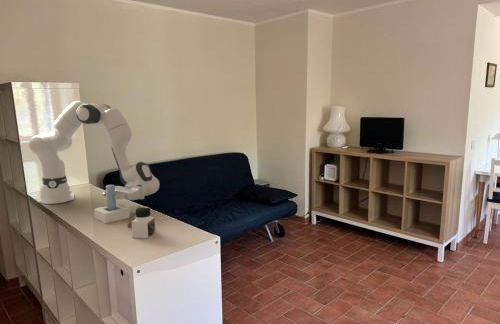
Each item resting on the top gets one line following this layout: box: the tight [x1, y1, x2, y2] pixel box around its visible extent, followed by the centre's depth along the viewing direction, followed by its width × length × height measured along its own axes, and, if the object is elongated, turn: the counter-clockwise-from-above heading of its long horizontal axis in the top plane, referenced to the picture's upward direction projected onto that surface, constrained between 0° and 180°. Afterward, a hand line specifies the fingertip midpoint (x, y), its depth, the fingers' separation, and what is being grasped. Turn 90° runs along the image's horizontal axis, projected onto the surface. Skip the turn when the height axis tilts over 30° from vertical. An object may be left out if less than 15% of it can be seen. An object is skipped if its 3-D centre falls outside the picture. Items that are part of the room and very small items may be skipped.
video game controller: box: [127, 215, 136, 228], centre depth 154 cm, size 10×5×7 cm, turn 47°
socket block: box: [93, 203, 130, 224], centre depth 168 cm, size 12×12×4 cm
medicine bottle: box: [131, 206, 156, 240], centre depth 144 cm, size 7×7×12 cm
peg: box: [105, 184, 117, 211], centre depth 167 cm, size 4×4×16 cm
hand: (109, 196), depth 166 cm, fingers open, 8 cm apart
